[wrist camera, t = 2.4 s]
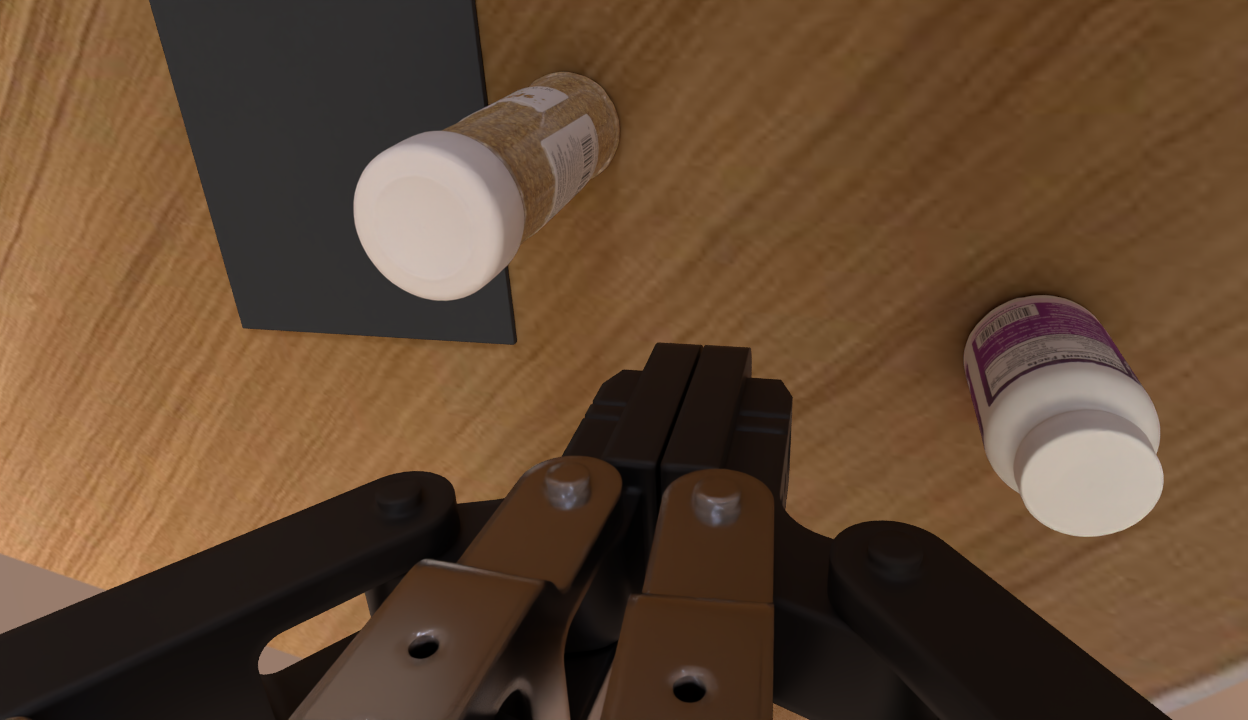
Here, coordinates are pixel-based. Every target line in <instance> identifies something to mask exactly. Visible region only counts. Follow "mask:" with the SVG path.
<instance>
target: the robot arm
mask: <svg viewBox="0 0 1248 720" xmlns="http://www.w3.org/2000/svg"><path fill="white" fill-rule="evenodd" d="M751 368H752V357H751V348H748V347H730V346H713V345H705V346H704V348H703V346H702V345H693V344H675V343H656V345H655V347H654V349H653V351H652V353H651V355H650V357H649V359H648V361H647V363H646V365H645V367H644V369H643V371H637V370H622V371H621V372H619V373H618V374H616V375H615V376H613V377H612V378H610V379H609V380H607V381H606V382H604V383H603V384H602V386H601V387H600V389H599V391H598V393H597V395H596V396H595V398H594V400H593V404H591V405H590V407H589V409H588V411H587V412H586V414H585V418H583V419H582V421H581V423H580V425H579V427H578V428H577V430H576V432H575V434H574V435H573V437H572V439H571V441H570V443H569V444H568V446H567V448H566V450H565V451H564V453H563V455H562V457H558V458H553V459H550V460H547V461H544V462H541V463H539V464H537V465H535V466H533V467H532V468H530V469H529V470H528V471H526V472H525V473H524V474H523V475H522V476H521V477H520V479H519V480H518V481H517V483H516V484H515V485H514V487H513V488H512V489H511V491H510V492H509V493H508V495H507V496H506V497H505V498H503V499H497V500H489V501H479V502H470V503H460V504H457V502H456V496H455V491H454V488H453V485H452V484H451V483H450V482H449V481H448V480H447V479H446V478H444V477H442V476H440V475H438V474H434V473H431V472H424V471H410V472H402V473H396V474H392V475H388V476H385V477H382V478H380V479H377V480H375V481H372V482H370V483H367V484H365V485H362V486H360V487H358V488H355V489H353V490H350V491H348V492H345V493H343V494H341V495H338V496H336V497H333V498H331V499H328V500H326V501H324V502H321V503H319V504H316V505H314V506H311V507H309V508H307V509H304V510H302V511H299V512H297V513H294V514H292V515H289V516H287V517H285V518H282V519H280V520H277V521H275V522H272V523H270V524H268V525H265V526H263V527H260V528H258V529H255V530H253V531H251V532H248V533H246V534H243V535H241V536H238V537H236V538H233V539H231V540H229V541H226V542H224V543H221V544H219V545H216V546H214V547H212V548H209V549H207V550H204V551H202V552H199V553H197V554H195V555H192V556H190V557H187V558H185V559H182V560H180V561H178V562H175V563H173V564H170V565H168V566H165V567H163V568H160V569H158V570H156V571H153V572H151V573H148V574H146V575H143V576H141V577H139V578H136V579H134V580H131V581H129V582H126V583H124V584H122V585H119V586H117V587H114V588H112V589H109V590H107V591H105V592H102V593H100V594H97V595H95V596H93V597H90V598H88V599H85V600H83V601H80V602H78V603H75V604H73V605H70V606H68V607H66V608H63V609H61V610H58V611H56V612H53V613H51V614H49V615H46V616H44V617H41V618H39V619H37V620H34V621H32V622H29V623H27V624H24V625H22V626H19V627H17V628H15V629H12V630H10V631H7V632H5V633H3V634H0V720H773V703H774V704H777V705H779V706H781V707H783V708H785V709H787V710H790V711H792V712H794V713H796V714H798V715H800V716H803V717H805V718H807V719H809V720H1172V719H1171V718H1169V717H1168V716H1167V715H1166V714H1164V713H1163V712H1162V711H1161V710H1159V709H1158V708H1157V707H1155V706H1154V705H1153V704H1152V703H1150V702H1149V701H1148V700H1146V699H1145V698H1144V697H1143V696H1141V695H1140V694H1139V693H1137V692H1136V691H1135V690H1134V689H1132V688H1131V687H1130V686H1129V685H1127V684H1126V683H1125V682H1123V681H1122V680H1121V679H1120V678H1118V677H1117V676H1116V675H1114V674H1113V673H1112V672H1111V671H1109V670H1108V669H1107V668H1105V667H1104V666H1103V665H1102V664H1100V663H1099V662H1098V661H1097V660H1095V659H1094V658H1093V657H1091V656H1090V655H1089V654H1088V653H1086V652H1085V651H1084V650H1082V649H1081V648H1080V647H1079V646H1077V645H1076V644H1075V643H1074V642H1072V641H1071V640H1070V639H1068V638H1067V637H1066V636H1065V635H1063V634H1062V633H1061V632H1059V631H1058V630H1057V629H1056V628H1054V627H1053V626H1052V625H1050V624H1049V623H1048V622H1047V621H1045V620H1044V619H1043V618H1042V617H1040V616H1039V615H1038V614H1036V613H1035V612H1034V611H1033V610H1031V609H1030V608H1029V607H1027V606H1026V605H1025V604H1024V603H1022V602H1021V601H1020V600H1018V599H1017V598H1016V597H1015V596H1013V595H1012V594H1011V593H1010V592H1008V591H1007V590H1006V589H1004V588H1003V587H1002V586H1001V585H999V584H998V583H997V582H995V581H994V580H993V579H992V578H990V577H989V576H988V575H986V574H985V573H984V572H983V571H981V570H980V569H979V568H978V567H976V566H975V565H974V564H972V563H971V562H970V561H969V560H967V559H966V558H965V557H963V556H962V555H961V554H960V553H958V552H957V551H956V550H954V549H953V548H952V547H951V546H949V545H948V544H947V543H946V542H944V541H943V540H941V539H940V538H939V537H937V536H936V535H934V534H932V533H930V532H928V531H926V530H924V529H921V528H919V527H916V526H913V525H910V524H906V523H901V522H895V521H869V522H862V523H859V524H855V525H853V526H850V527H848V528H846V529H845V530H843V531H842V532H840V533H839V534H838V535H837V536H836V537H835V539H832V538H829V537H826V536H823V535H820V534H818V533H815V532H813V531H811V530H809V529H807V528H805V527H803V526H802V525H800V524H799V523H797V522H796V521H795V520H794V519H793V518H792V517H790V516H789V514H788V513H787V512H786V511H785V508H786V499H787V491H788V483H789V469H790V445H791V422H792V398H793V397H792V395H791V394H790V392H789V391H788V389H787V388H786V386H785V385H784V383H783V382H782V380H776V379H761V378H751ZM364 592H365V595H366V599H367V603H368V607H369V611H370V615H371V618H370V620H369V621H368V622H367V623H366V625H365V626H364V627H363V628H362V629H361V630H360V631H358V632H356V633H354V634H352V635H350V636H348V637H346V638H344V639H342V640H340V641H338V642H336V643H334V644H332V645H330V646H328V647H326V648H324V649H322V650H320V651H318V652H316V653H314V654H312V655H310V656H308V657H306V658H304V659H303V660H301V661H299V662H297V663H295V664H293V665H291V666H289V667H287V668H285V669H283V670H281V671H278V672H276V673H273V674H267V675H262V674H259V670H258V660H259V656H260V654H261V652H262V651H263V649H264V647H265V646H266V645H267V644H268V643H269V642H270V641H271V640H272V639H273V638H274V637H276V636H277V635H278V634H280V633H282V632H284V631H286V630H288V629H290V628H292V627H294V626H296V625H298V624H300V623H302V622H304V621H306V620H309V619H311V618H313V617H315V616H317V615H319V614H321V613H323V612H325V611H327V610H329V609H331V608H333V607H335V606H337V605H340V604H342V603H344V602H346V601H348V600H350V599H352V598H354V597H356V596H358V595H360V594H362V593H364Z"/></svg>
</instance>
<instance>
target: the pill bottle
mask: <svg viewBox="0 0 1248 720" xmlns="http://www.w3.org/2000/svg"><path fill="white" fill-rule="evenodd" d="M964 370H965V374H966V379H967V382H968V386H969V390H970V393H971V398H972V401H973V405H974V409H975V412H976V416H977V420H978V424H979V428H980V432H981V436H982V440H983V444H984V449H985V452H986V455H987V458H988V460H989V462H990V464H991V465H992V467H993V469H994V470H995V472H996V473H997V474H998V476H999V477H1000V478H1001V479H1002V480H1003V481H1004V482H1005V483H1006V484H1007V485H1008V486H1009V487H1010V488H1012V489H1013V490H1015V491H1016V492H1018V493H1019V494H1020V495H1021V498H1022V500H1023V502H1024V504H1025V506H1026V507H1027V509H1028V510H1029V512H1030V513H1031V514H1032V515H1033V516H1034V517H1035V518H1036V519H1037V520H1038V521H1039V522H1041V523H1042V524H1044V525H1045V526H1047V527H1049V528H1051V529H1053V530H1056V531H1058V532H1061V533H1065V534H1069V535H1073V536H1082V537H1091V536H1102V535H1107V534H1111V533H1115V532H1118V531H1121V530H1124V529H1126V528H1128V527H1130V526H1132V525H1134V524H1135V523H1137V522H1139V521H1140V520H1141V519H1143V518H1144V517H1145V516H1146V515H1147V514H1148V513H1149V512H1150V511H1151V510H1152V509H1153V507H1154V506H1155V504H1156V503H1157V501H1158V499H1159V497H1160V496H1161V492H1162V489H1163V471H1162V466H1161V464H1160V461H1159V459H1158V457H1157V455H1156V453H1157V451H1158V447H1159V442H1160V424H1159V419H1158V415H1157V412H1156V410H1155V407H1154V404H1153V402H1152V400H1151V398H1150V397H1149V395H1148V394H1147V392H1146V391H1145V389H1144V388H1143V386H1142V385H1141V383H1140V382H1139V380H1138V379H1137V377H1136V376H1135V374H1134V373H1133V371H1132V370H1131V368H1130V366H1129V365H1128V363H1127V362H1126V360H1125V359H1124V357H1123V356H1122V354H1121V353H1120V351H1119V350H1118V348H1117V347H1116V345H1115V344H1114V342H1113V341H1112V339H1111V337H1110V336H1109V334H1108V333H1107V332H1106V330H1105V329H1104V327H1103V326H1102V325H1101V323H1100V322H1099V321H1098V320H1097V318H1096V317H1095V316H1094V315H1093V314H1092V313H1091V312H1089V311H1088V310H1087V309H1085V308H1084V307H1082V306H1081V305H1079V304H1077V303H1075V302H1073V301H1070V300H1068V299H1065V298H1061V297H1056V296H1049V295H1036V296H1028V297H1025V298H1016V299H1013V300H1011V301H1008V302H1006V303H1004V304H1002V305H1000V306H998V307H997V308H995V309H993V310H992V311H990V312H989V313H988V314H987V315H986V316H985V317H984V318H983V319H982V320H981V321H980V322H979V323H978V324H977V325H976V326H975V328H974V329H973V331H972V332H971V334H970V335H969V338H968V340H967V343H966V346H965V350H964Z"/></svg>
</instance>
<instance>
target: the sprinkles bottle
mask: <svg viewBox="0 0 1248 720" xmlns="http://www.w3.org/2000/svg"><path fill="white" fill-rule="evenodd" d="M619 132H620V126H619V119H618V116H617V112H616V110H615V107H614V104H613V103H612V101H611V100H610V98H609V96H608V95H607V94H606V92H605V91H604V89H603V88H602V87H601V86H600V85H598V84H597V83H595V82H594V81H593V80H591V79H589V78H587V77H585V76H582V75H578V74H576V73H570V72H556V73H551V74H547V75H545V76H543V77H541V78H539V79H537V80H535V81H534V82H533V83H532V84H531V85H530V86H529V87H528V88H524V89H521V90H518V91H516V92H514V93H512V94H510V95H508V96H506V97H504V98H502V99H501V100H499V101H497V102H495V103H493V104H491V105H489V106H487V107H485V108H483V109H481V110H479V111H477V112H475V113H473V114H471V115H469V116H467V117H465V118H464V119H462V120H461V121H459V122H458V123H457V124H454V125H452V126H450V127H448V128H446V129H444V130H442V131H429V132H424V133H421V134H417V135H414V136H412V137H410V138H408V139H405V140H403V141H401V142H399V143H398V144H396V145H394V146H392V147H390V148H388V149H387V150H385V151H383V152H382V153H380V154H379V155H377V156H376V157H375V158H374V159H373V160H372V161H371V162H370V163H369V164H368V165H367V167H366V168H365V169H364V171H363V172H362V174H361V177H360V179H359V181H358V183H357V187H356V190H355V195H354V220H355V226H356V230H357V234H358V236H359V239H360V242H361V244H362V246H363V248H364V250H365V252H366V254H367V255H368V257H369V258H370V260H371V261H372V262H373V264H374V265H375V266H376V268H377V269H378V270H379V271H380V272H381V273H382V274H383V275H384V276H385V277H386V278H387V279H388V280H390V281H391V282H392V283H393V284H395V285H396V286H398V287H399V288H401V289H403V290H404V291H407V292H409V293H411V294H413V295H416V296H418V297H421V298H425V299H430V300H437V301H441V300H443V301H448V300H456V299H460V298H464V297H466V296H469V295H471V294H473V293H475V292H477V291H478V290H480V289H481V288H482V287H484V286H485V285H486V284H487V283H489V282H490V281H491V280H492V279H493V278H494V277H496V276H497V275H498V274H499V273H500V272H501V271H502V270H503V269H504V268H505V267H506V266H507V265H508V264H509V263H510V262H511V260H512V259H513V257H514V256H515V254H516V253H517V251H518V248H519V246H520V245H521V244H522V243H523V242H524V241H525V240H526V239H528V238H529V237H531V236H532V235H534V234H535V233H536V232H537V231H539V230H540V229H541V228H542V227H543V226H544V225H545V224H546V223H547V222H548V221H549V220H550V219H551V218H553V217H554V216H555V215H556V214H557V213H558V212H559V211H560V210H561V209H562V208H563V207H564V206H565V205H566V204H567V203H568V202H569V201H570V200H571V199H572V198H573V197H574V196H575V195H576V194H577V193H578V192H579V191H580V190H581V189H582V188H583V187H584V186H585V185H586V184H587V182H588V181H589V180H590V179H592V178H594V177H596V176H598V175H599V174H600V173H601V172H602V171H603V170H605V169H606V167H607V166H608V165H609V164H610V162H611V160H612V158H613V157H614V155H615V152H616V149H617V147H618V144H619Z"/></svg>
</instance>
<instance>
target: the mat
mask: <svg viewBox="0 0 1248 720" xmlns="http://www.w3.org/2000/svg"><path fill="white" fill-rule="evenodd" d="M149 2H150V5H151V9H152V12H153V16H154V19H155V23H156V26H157V30H158V33H159V37H160V40H161V44H162V47H163V51H164V54H165V58H166V61H167V65H168V68H169V72H170V75H171V79H172V82H173V86H174V89H175V93H176V96H177V100H178V103H179V106H180V110H181V113H182V117H183V120H184V124H185V127H186V131H187V134H188V138H189V141H190V145H191V148H192V152H193V155H194V159H195V162H196V166H197V169H198V173H199V176H200V180H201V183H202V187H203V190H204V194H205V197H206V201H207V204H208V208H209V211H210V215H211V218H212V222H213V225H214V229H215V232H216V236H217V239H218V243H219V246H220V250H221V253H222V257H223V260H224V264H225V267H226V271H227V274H228V278H229V281H230V285H231V288H232V292H233V295H234V299H235V302H236V306H237V309H238V313H239V316H240V320H241V323H242V327H243V328H248V329H264V330H281V331H297V332H313V333H330V334H346V335H362V336H378V337H395V338H411V339H427V340H444V341H460V342H476V343H493V344H509V345H514V344H515V343H516V342H517V338H516V330H515V322H514V314H513V306H512V298H511V290H510V282H509V274H508V266H506V267H505V268H504V269H503V270H502V271H501V272H500V273H499V274H498V275H497V276H496V277H494V278H493V279H492V280H491V281H490V282H489V283H487V284H486V285H485V286H484V287H482V288H481V289H480V290H478V291H477V292H475V293H473V294H471V295H469V296H466V297H464V298H460V299H456V300H448V301H443V300H441V301H437V300H430V299H425V298H421V297H418V296H416V295H413V294H411V293H409V292H407V291H404V290H403V289H401V288H399V287H398V286H396V285H395V284H393V283H392V282H391V281H390V280H388V279H387V278H386V277H385V276H384V275H383V274H382V273H381V272H380V271H379V270H378V269H377V268H376V266H375V265H374V264H373V262H372V261H371V260H370V258H369V257H368V255H367V254H366V252H365V250H364V248H363V246H362V244H361V242H360V239H359V236H358V234H357V230H356V226H355V220H354V195H355V190H356V187H357V183H358V181H359V179H360V177H361V174H362V172H363V171H364V169H365V168H366V167H367V165H368V164H369V163H370V162H371V161H372V160H373V159H374V158H375V157H376V156H377V155H379V154H380V153H382V152H383V151H385V150H387V149H388V148H390V147H392V146H394V145H396V144H398V143H399V142H401V141H403V140H405V139H408V138H410V137H412V136H414V135H417V134H421V133H424V132H429V131H442V130H444V129H446V128H448V127H450V126H452V125H454V124H457V123H458V122H459V121H461V120H462V119H464V118H465V117H467V116H469V115H471V114H473V113H475V112H477V111H479V110H481V109H483V108H485V107H487V106H488V104H487V96H486V88H485V80H484V71H483V63H482V55H481V47H480V39H479V31H478V23H477V15H476V7H475V0H149Z"/></svg>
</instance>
